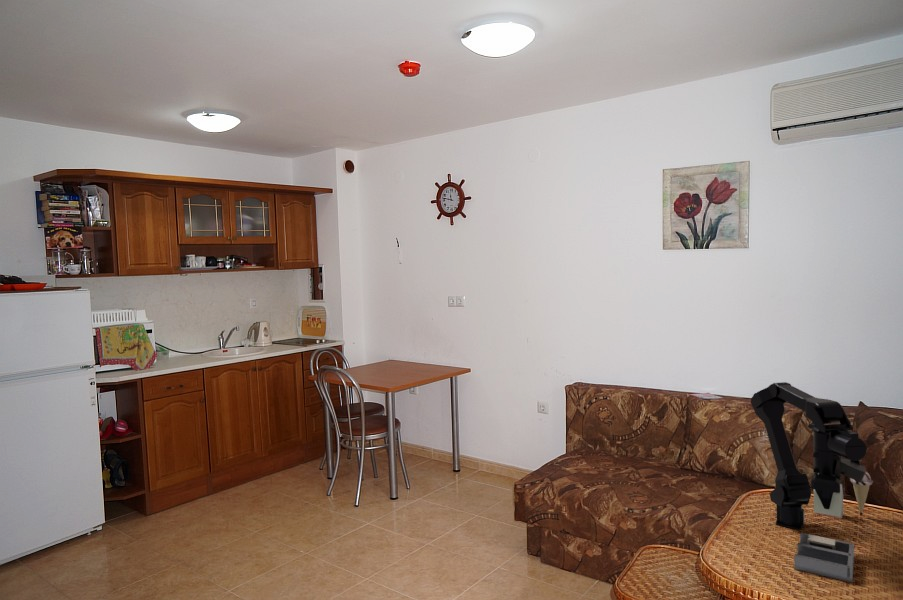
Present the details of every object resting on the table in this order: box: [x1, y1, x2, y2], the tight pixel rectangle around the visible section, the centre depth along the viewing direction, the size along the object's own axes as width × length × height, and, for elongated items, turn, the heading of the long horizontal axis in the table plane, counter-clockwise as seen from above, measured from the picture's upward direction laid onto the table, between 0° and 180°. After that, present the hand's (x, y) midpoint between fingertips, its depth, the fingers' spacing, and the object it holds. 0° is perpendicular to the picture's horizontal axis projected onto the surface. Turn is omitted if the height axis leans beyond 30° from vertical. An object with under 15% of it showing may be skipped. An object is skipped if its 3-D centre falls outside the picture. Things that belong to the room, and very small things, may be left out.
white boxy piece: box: [814, 483, 844, 520], centre depth 175 cm, size 4×7×10 cm, turn 46°
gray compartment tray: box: [793, 532, 855, 583], centre depth 148 cm, size 12×14×4 cm
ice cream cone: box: [849, 471, 874, 517], centre depth 172 cm, size 6×6×15 cm
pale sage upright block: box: [812, 489, 841, 517], centre depth 154 cm, size 6×4×6 cm, turn 55°
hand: (827, 506), depth 154 cm, fingers closed on pale sage upright block, 4 cm apart
